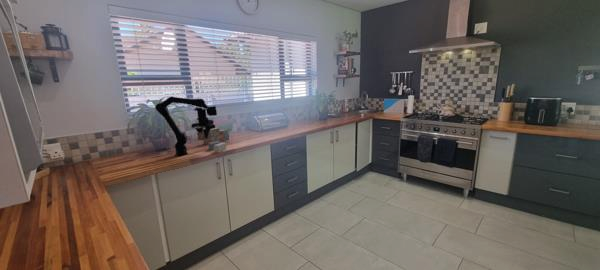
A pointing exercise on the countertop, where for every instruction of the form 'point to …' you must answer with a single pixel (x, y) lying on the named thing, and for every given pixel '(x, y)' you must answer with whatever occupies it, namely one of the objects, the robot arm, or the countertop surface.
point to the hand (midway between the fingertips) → (204, 137)
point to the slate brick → (211, 145)
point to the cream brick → (220, 147)
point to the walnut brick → (203, 136)
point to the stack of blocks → (217, 135)
